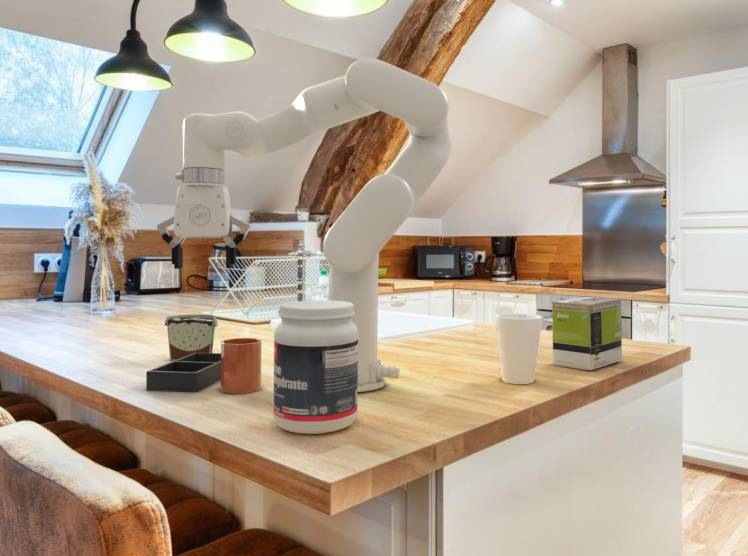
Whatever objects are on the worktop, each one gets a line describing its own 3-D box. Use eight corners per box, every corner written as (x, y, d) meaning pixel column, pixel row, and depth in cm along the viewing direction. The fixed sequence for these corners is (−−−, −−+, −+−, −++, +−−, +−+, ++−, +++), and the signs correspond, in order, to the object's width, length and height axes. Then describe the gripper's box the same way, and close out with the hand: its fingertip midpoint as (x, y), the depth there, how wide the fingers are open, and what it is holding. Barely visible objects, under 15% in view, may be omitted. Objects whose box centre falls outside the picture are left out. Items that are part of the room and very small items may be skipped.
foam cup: (488, 383, 122) (489, 317, 122) (500, 373, 130) (501, 312, 130) (536, 387, 118) (537, 320, 118) (545, 378, 127) (546, 314, 127)
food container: (226, 356, 146) (226, 314, 146) (215, 361, 140) (215, 318, 140) (177, 355, 148) (177, 313, 148) (164, 360, 142) (164, 316, 142)
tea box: (584, 356, 151) (584, 295, 151) (623, 362, 144) (623, 298, 144) (550, 364, 140) (551, 299, 140) (591, 371, 133) (591, 303, 133)
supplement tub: (255, 425, 93) (256, 304, 93) (319, 407, 103) (320, 298, 103) (311, 443, 85) (312, 311, 85) (375, 422, 95) (376, 303, 95)
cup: (266, 385, 119) (266, 338, 119) (252, 394, 112) (252, 344, 112) (230, 383, 120) (231, 337, 120) (214, 392, 112) (214, 343, 112)
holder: (195, 368, 133) (195, 352, 133) (238, 370, 132) (238, 353, 132) (146, 390, 114) (146, 371, 114) (196, 392, 113) (196, 373, 113)
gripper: (150, 177, 114) (151, 269, 114) (245, 178, 115) (246, 269, 116) (164, 181, 122) (164, 267, 122) (253, 181, 123) (253, 267, 123)
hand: (204, 268), depth 119 cm, fingers open, 9 cm apart
